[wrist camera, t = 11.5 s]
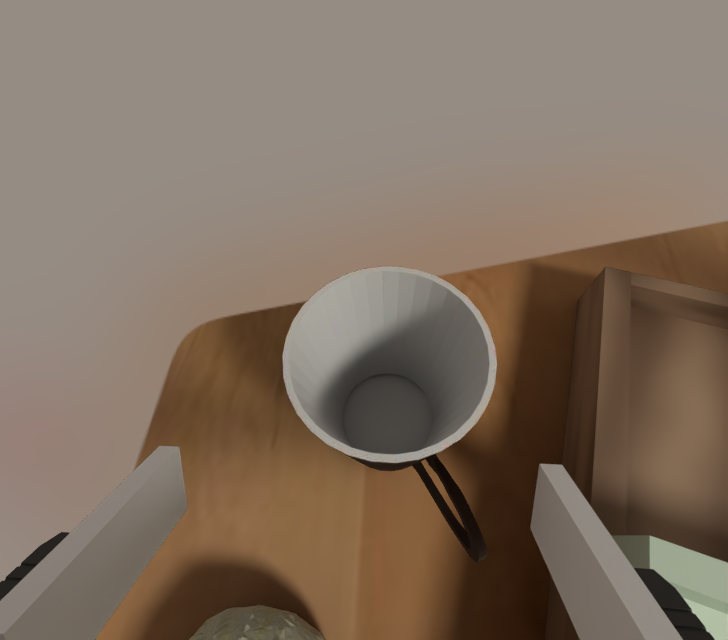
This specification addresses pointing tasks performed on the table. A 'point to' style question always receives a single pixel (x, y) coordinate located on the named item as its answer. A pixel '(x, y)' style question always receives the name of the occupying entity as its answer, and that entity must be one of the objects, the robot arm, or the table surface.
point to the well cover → (685, 576)
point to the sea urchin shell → (256, 625)
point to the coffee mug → (393, 375)
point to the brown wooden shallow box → (649, 415)
